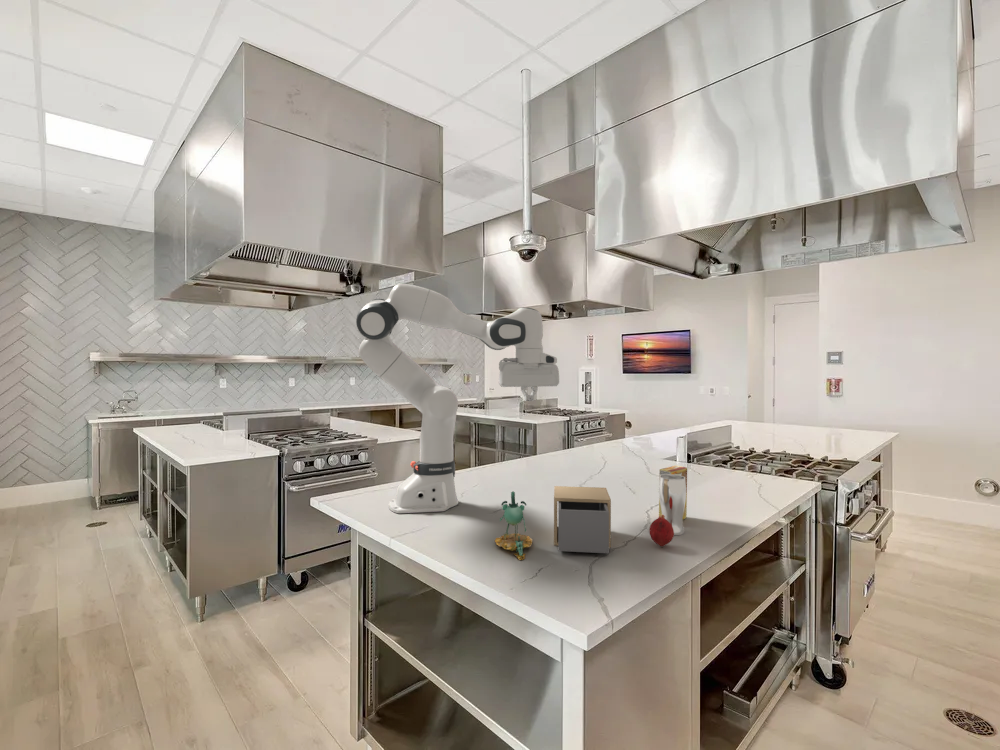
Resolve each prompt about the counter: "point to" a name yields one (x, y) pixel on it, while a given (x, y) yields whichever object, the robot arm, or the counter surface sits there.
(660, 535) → the onion
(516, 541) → the frog figurine
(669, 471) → the candy box
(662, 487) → the beer glass
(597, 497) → the sleeve
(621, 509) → the counter surface
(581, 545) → the grey open box
